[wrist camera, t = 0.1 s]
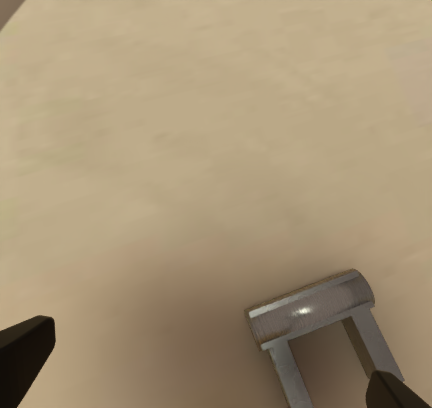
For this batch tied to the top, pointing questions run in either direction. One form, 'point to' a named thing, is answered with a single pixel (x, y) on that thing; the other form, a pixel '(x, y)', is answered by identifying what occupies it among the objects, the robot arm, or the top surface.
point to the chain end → (317, 318)
